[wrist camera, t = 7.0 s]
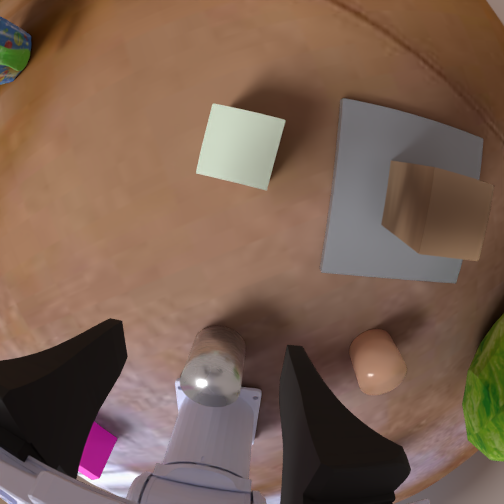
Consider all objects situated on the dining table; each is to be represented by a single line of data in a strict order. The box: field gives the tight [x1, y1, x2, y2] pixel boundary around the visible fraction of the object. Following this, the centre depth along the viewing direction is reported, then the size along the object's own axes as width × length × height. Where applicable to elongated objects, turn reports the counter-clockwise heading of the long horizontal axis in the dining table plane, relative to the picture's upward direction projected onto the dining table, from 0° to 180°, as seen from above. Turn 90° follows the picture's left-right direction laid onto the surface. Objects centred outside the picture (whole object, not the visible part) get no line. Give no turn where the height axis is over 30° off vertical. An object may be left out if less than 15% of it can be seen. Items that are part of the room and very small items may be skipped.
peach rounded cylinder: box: [349, 329, 407, 395], centre depth 22 cm, size 4×4×4 cm
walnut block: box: [381, 161, 494, 261], centre depth 16 cm, size 4×4×6 cm
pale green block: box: [196, 104, 286, 190], centre depth 17 cm, size 4×4×4 cm
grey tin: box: [180, 326, 246, 407], centre depth 22 cm, size 4×4×5 cm
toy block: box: [78, 422, 117, 480], centre depth 29 cm, size 15×6×8 cm, turn 133°
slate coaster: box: [320, 98, 483, 283], centre depth 19 cm, size 12×12×1 cm
